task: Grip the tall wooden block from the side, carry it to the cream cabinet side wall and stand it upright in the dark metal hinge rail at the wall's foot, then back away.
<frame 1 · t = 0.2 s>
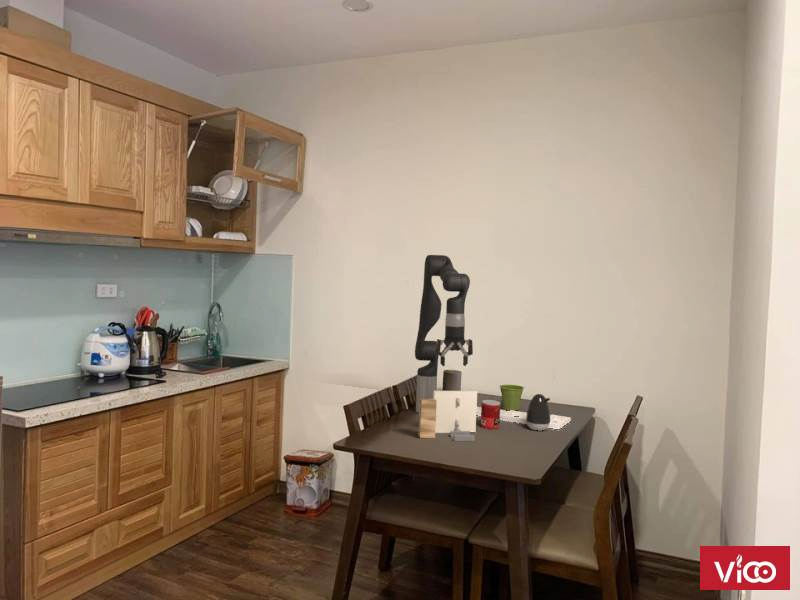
hand: (453, 365, 242), 29 cm above the table, tool pointing down, fingers open, 8 cm apart
canned food: (489, 427, 263), on the table
cabinet side: (453, 432, 253), on the table
holder: (516, 419, 282), on the table
plant pot: (510, 410, 298), on the table
pillar candle: (451, 397, 323), on the table
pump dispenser: (537, 429, 263), on the table
tall wooden block: (426, 437, 243), on the table
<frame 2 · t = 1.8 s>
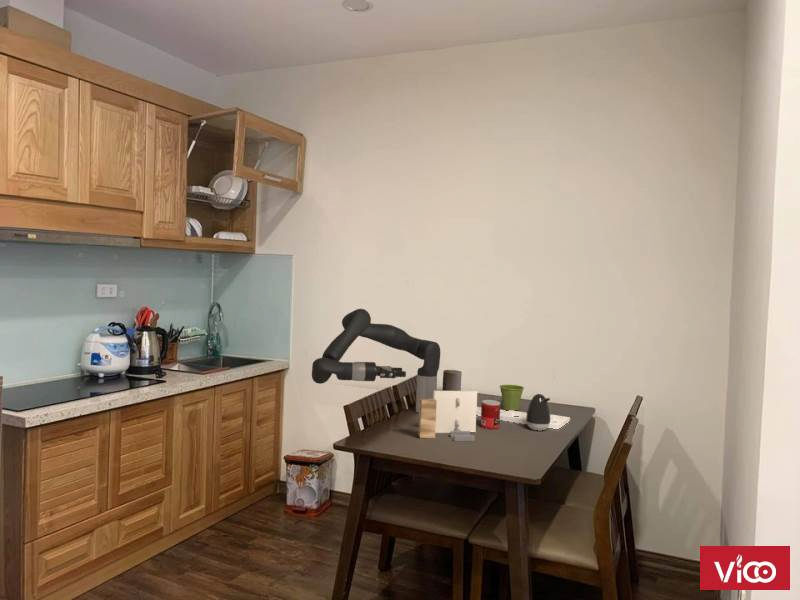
hand: (403, 372, 245), 25 cm above the table, tool horizontal, fingers open, 8 cm apart
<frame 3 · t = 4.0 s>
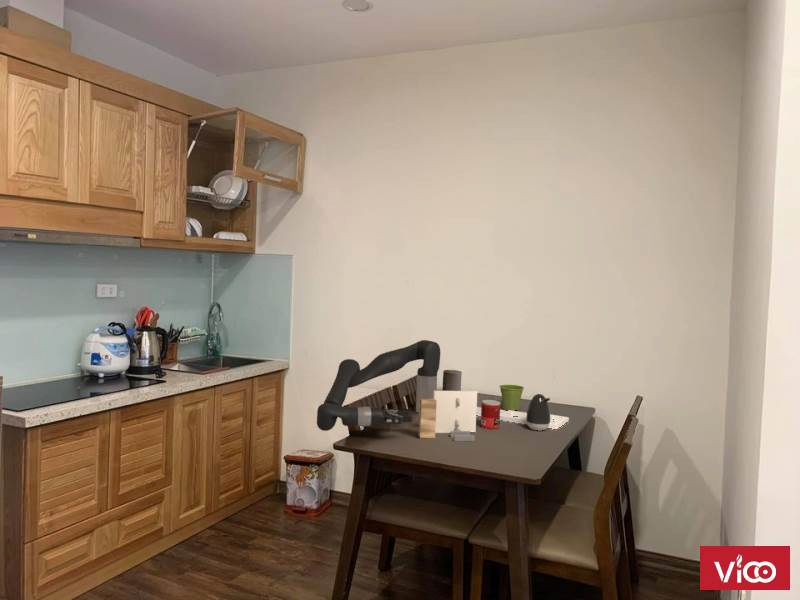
hand: (409, 416, 241), 8 cm above the table, tool horizontal, fingers open, 8 cm apart
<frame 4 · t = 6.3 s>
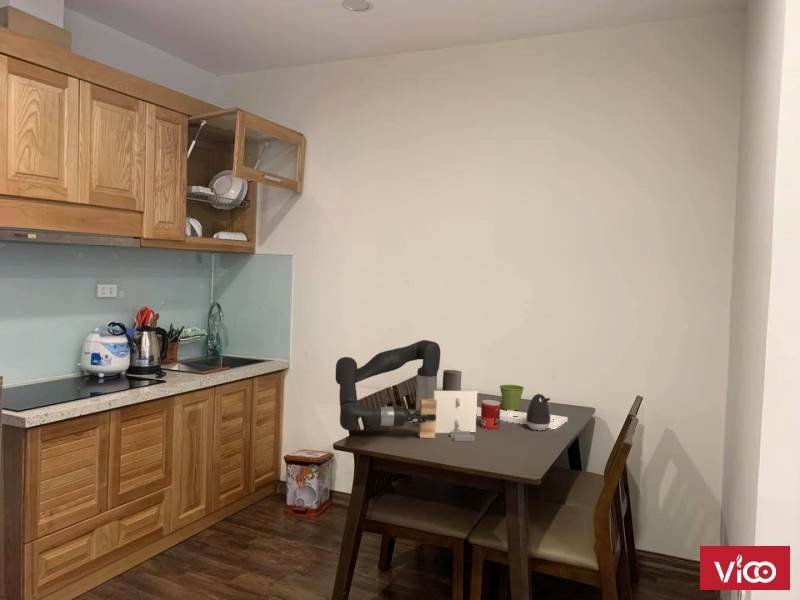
hand: (434, 416, 243), 9 cm above the table, tool horizontal, fingers closed on tall wooden block, 3 cm apart
tall wooden block: (426, 437, 243), on the table, touching gripper
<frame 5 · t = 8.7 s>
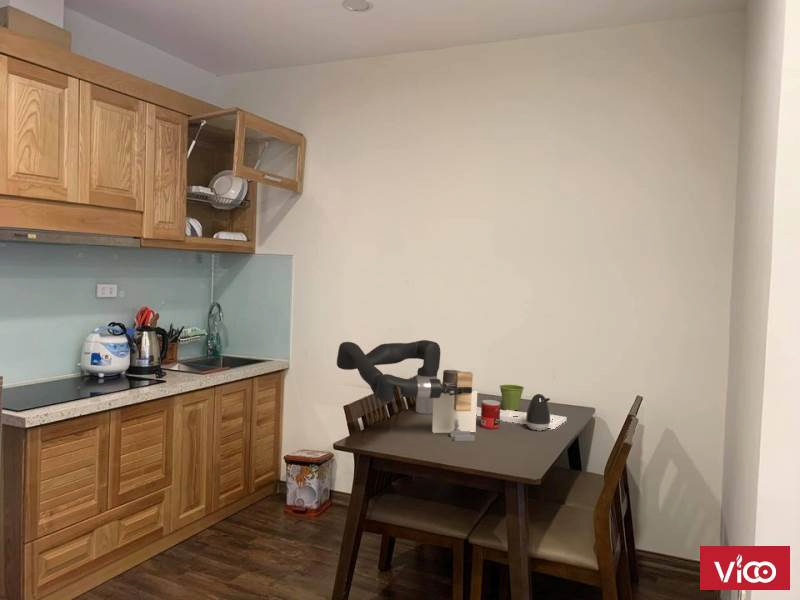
hand: (470, 388, 243), 20 cm above the table, tool horizontal, fingers closed on tall wooden block, 3 cm apart
tall wooden block: (462, 410, 243), point 11 cm above the table, touching gripper
when the fingers open (9 cm above the table, at t = 11.1 s): tall wooden block stays where it is, on the table.
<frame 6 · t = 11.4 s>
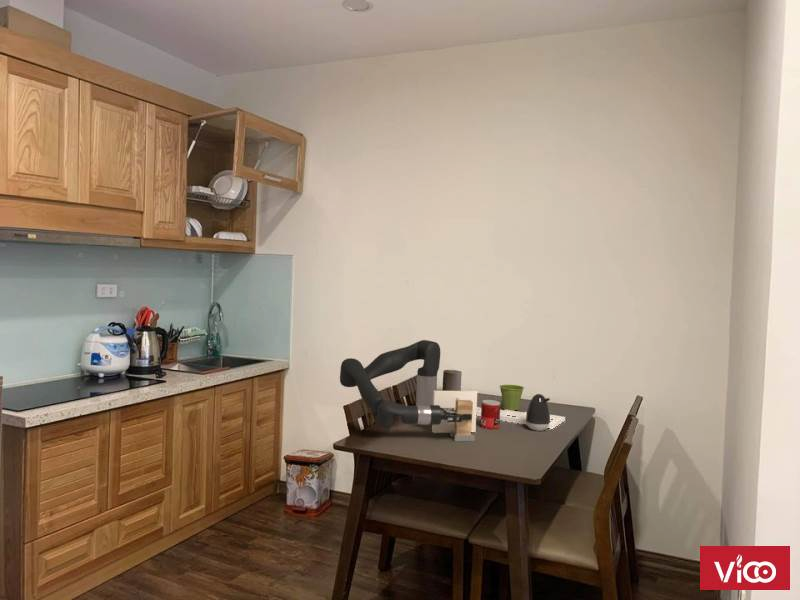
hand: (469, 414, 244), 10 cm above the table, tool horizontal, fingers open, 6 cm apart
tall wooden block: (462, 438, 244), on the table
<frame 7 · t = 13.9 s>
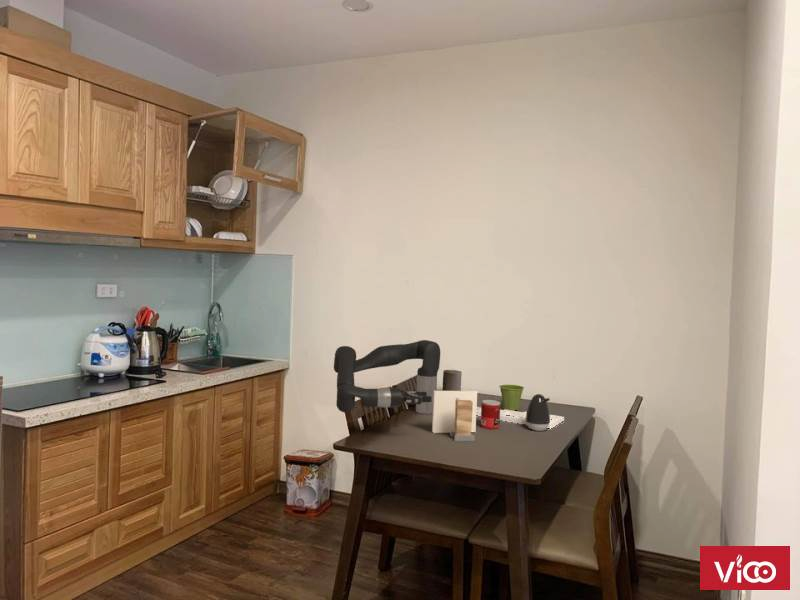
hand: (428, 396, 242), 16 cm above the table, tool horizontal, fingers open, 8 cm apart
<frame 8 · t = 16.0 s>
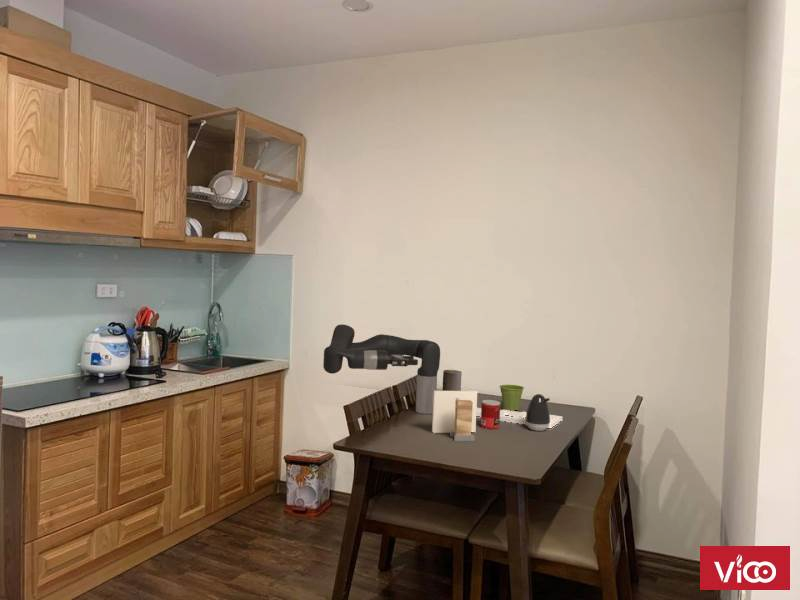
hand: (415, 360, 244), 30 cm above the table, tool horizontal, fingers open, 8 cm apart
at the end: tall wooden block inside the target area (0.1 cm from its centre), on the table; tall wooden block tilted 0°; the gripper is holding nothing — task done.
